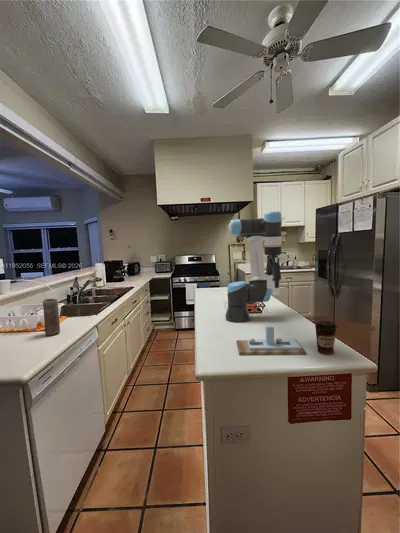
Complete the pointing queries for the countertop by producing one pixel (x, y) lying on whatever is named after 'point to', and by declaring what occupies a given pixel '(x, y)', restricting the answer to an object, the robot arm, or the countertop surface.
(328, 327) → the coffee cup
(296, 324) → the countertop surface
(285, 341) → the panel
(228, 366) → the countertop surface
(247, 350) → the boss board
